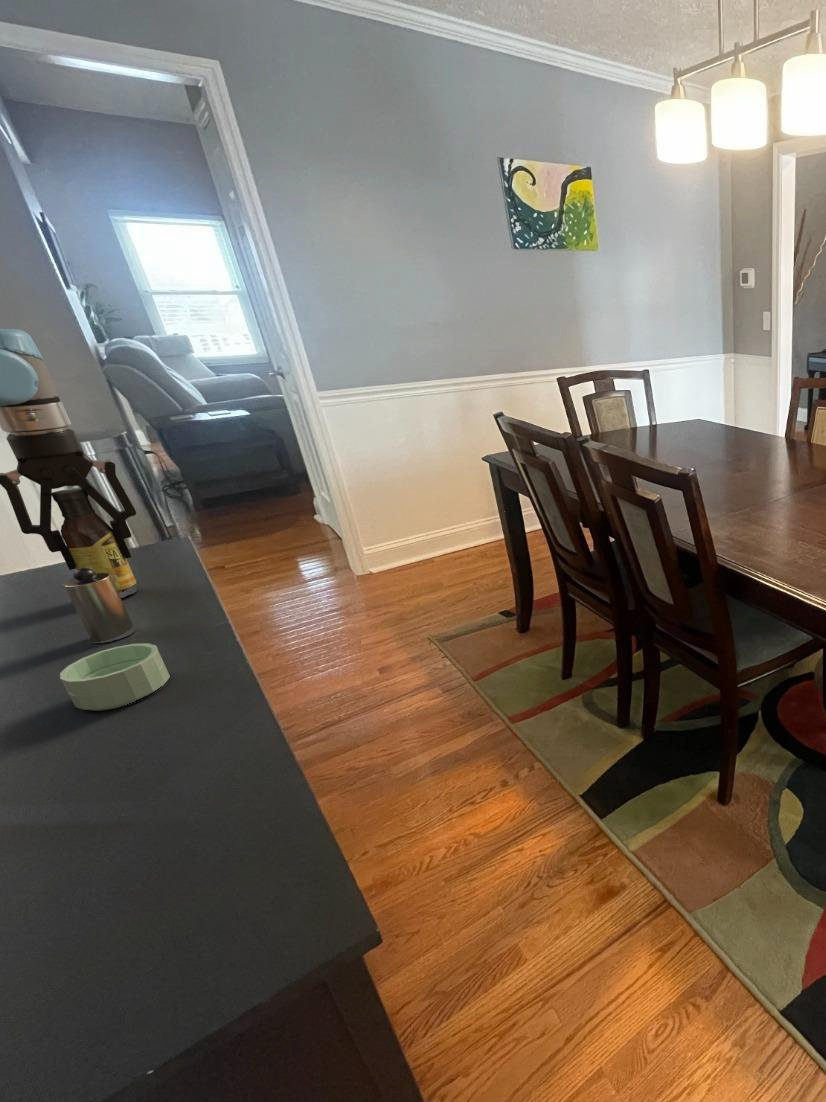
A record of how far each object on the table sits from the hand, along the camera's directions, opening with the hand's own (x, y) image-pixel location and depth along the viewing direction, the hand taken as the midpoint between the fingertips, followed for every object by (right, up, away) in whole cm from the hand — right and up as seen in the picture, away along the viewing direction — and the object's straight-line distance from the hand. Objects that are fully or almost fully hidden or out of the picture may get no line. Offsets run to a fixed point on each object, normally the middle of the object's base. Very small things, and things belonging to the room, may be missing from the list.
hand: (100, 561), depth 105 cm
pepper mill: (+14, -12, -10) cm, 21 cm away
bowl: (+30, -18, -25) cm, 43 cm away
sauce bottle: (0, -7, +3) cm, 7 cm away
